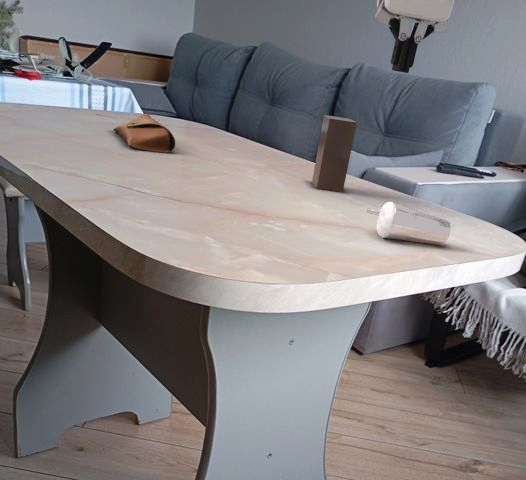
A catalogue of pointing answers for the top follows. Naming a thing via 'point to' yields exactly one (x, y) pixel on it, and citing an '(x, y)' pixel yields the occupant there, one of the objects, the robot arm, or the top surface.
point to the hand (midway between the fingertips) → (399, 71)
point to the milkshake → (410, 225)
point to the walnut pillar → (333, 153)
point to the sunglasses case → (146, 134)
